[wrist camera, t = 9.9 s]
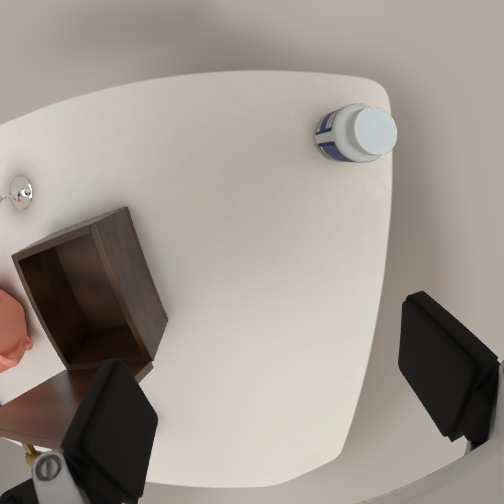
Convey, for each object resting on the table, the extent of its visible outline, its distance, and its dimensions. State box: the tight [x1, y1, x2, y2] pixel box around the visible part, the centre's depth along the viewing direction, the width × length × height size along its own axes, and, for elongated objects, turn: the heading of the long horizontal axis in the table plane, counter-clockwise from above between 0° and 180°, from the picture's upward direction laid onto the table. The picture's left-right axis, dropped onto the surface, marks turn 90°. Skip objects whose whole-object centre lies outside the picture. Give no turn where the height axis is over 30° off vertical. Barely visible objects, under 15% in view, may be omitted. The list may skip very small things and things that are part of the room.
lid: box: [0, 361, 153, 468], centre depth 19 cm, size 15×12×5 cm
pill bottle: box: [314, 104, 397, 163], centre depth 24 cm, size 5×5×10 cm
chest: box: [11, 206, 168, 370], centre depth 29 cm, size 15×12×8 cm
